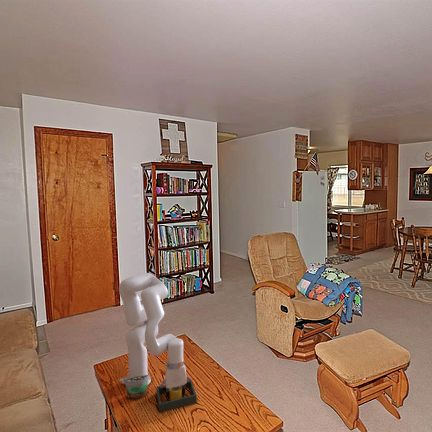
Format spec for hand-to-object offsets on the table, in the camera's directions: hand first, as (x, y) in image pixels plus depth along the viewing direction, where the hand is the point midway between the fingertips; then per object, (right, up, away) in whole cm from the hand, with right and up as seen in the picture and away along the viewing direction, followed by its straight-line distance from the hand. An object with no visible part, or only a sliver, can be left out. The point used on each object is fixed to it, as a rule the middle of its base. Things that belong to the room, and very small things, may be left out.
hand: (175, 396), depth 176 cm
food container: (-20, -1, 0) cm, 20 cm away
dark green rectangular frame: (0, -1, 0) cm, 1 cm away
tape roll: (0, -1, 0) cm, 1 cm away
